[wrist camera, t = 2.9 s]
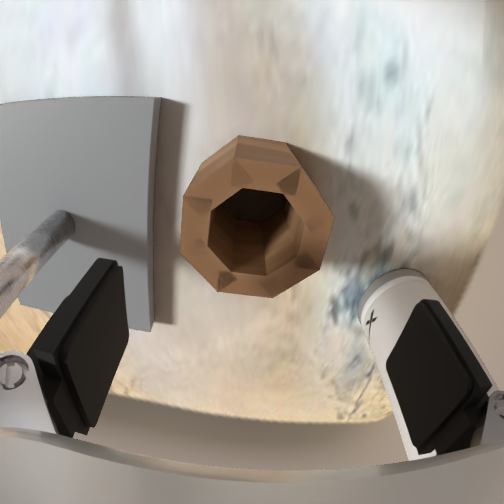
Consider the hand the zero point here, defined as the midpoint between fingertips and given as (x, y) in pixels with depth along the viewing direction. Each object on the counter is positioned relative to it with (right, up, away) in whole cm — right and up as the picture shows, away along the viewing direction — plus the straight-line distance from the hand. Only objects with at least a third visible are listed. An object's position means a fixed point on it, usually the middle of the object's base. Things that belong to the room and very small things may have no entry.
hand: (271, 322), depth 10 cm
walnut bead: (-1, +6, +10) cm, 11 cm away
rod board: (-13, +5, +10) cm, 17 cm away
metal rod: (-13, +4, +9) cm, 16 cm away
